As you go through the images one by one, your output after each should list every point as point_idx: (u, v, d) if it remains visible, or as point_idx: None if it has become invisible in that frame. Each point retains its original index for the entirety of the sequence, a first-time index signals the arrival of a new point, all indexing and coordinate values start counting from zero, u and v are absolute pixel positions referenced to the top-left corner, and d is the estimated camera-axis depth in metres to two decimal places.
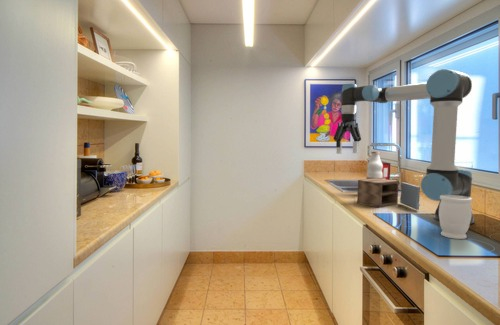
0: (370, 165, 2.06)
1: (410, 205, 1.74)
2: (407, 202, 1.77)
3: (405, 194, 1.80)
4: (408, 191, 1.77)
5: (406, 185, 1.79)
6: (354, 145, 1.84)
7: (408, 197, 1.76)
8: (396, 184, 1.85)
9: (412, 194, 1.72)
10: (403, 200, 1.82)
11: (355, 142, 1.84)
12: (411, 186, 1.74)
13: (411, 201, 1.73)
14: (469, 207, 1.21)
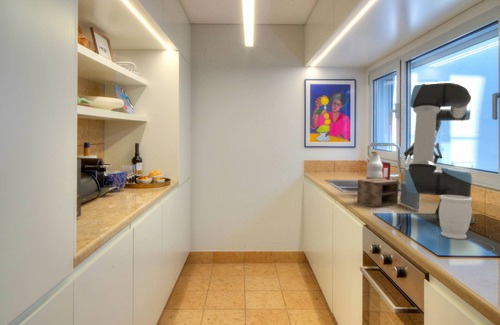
0: (370, 165, 2.06)
1: (410, 205, 1.74)
2: (407, 202, 1.77)
3: (405, 194, 1.80)
4: None
5: None
6: None
7: (408, 197, 1.76)
8: (396, 184, 1.85)
9: (412, 194, 1.72)
10: (403, 200, 1.82)
11: None
12: None
13: (411, 201, 1.73)
14: (469, 207, 1.21)
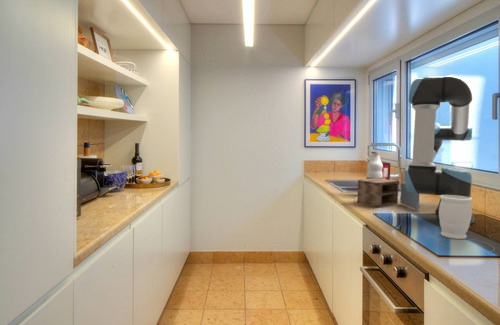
0: (370, 165, 2.06)
1: (410, 205, 1.74)
2: (407, 202, 1.77)
3: (405, 194, 1.80)
4: None
5: None
6: None
7: (408, 197, 1.76)
8: (396, 184, 1.85)
9: (412, 194, 1.72)
10: (403, 200, 1.82)
11: None
12: None
13: (411, 201, 1.73)
14: (469, 207, 1.21)
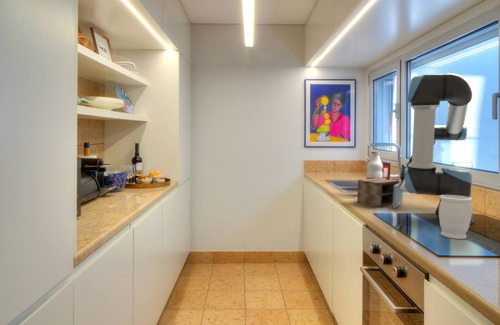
0: (370, 165, 2.06)
1: None
2: None
3: None
4: None
5: None
6: None
7: None
8: None
9: None
10: None
11: None
12: None
13: None
14: (469, 207, 1.21)
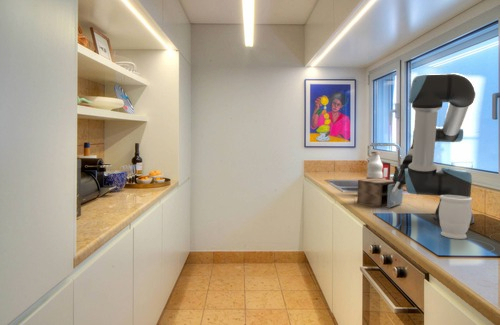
0: (370, 165, 2.06)
1: None
2: None
3: None
4: None
5: None
6: None
7: None
8: None
9: None
10: None
11: None
12: None
13: None
14: (469, 207, 1.21)
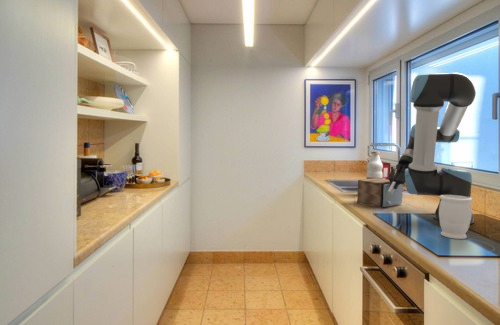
0: (370, 165, 2.06)
1: None
2: None
3: None
4: None
5: None
6: None
7: None
8: None
9: None
10: None
11: None
12: None
13: None
14: (469, 207, 1.21)
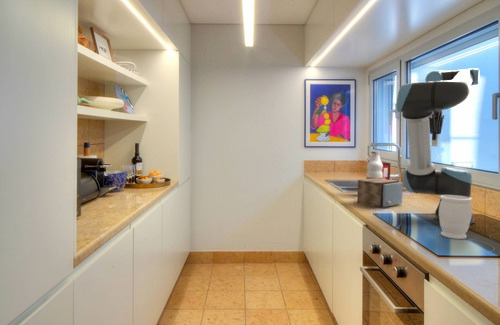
0: (370, 165, 2.06)
1: None
2: None
3: None
4: None
5: None
6: None
7: None
8: None
9: None
10: None
11: None
12: None
13: None
14: (469, 207, 1.21)
